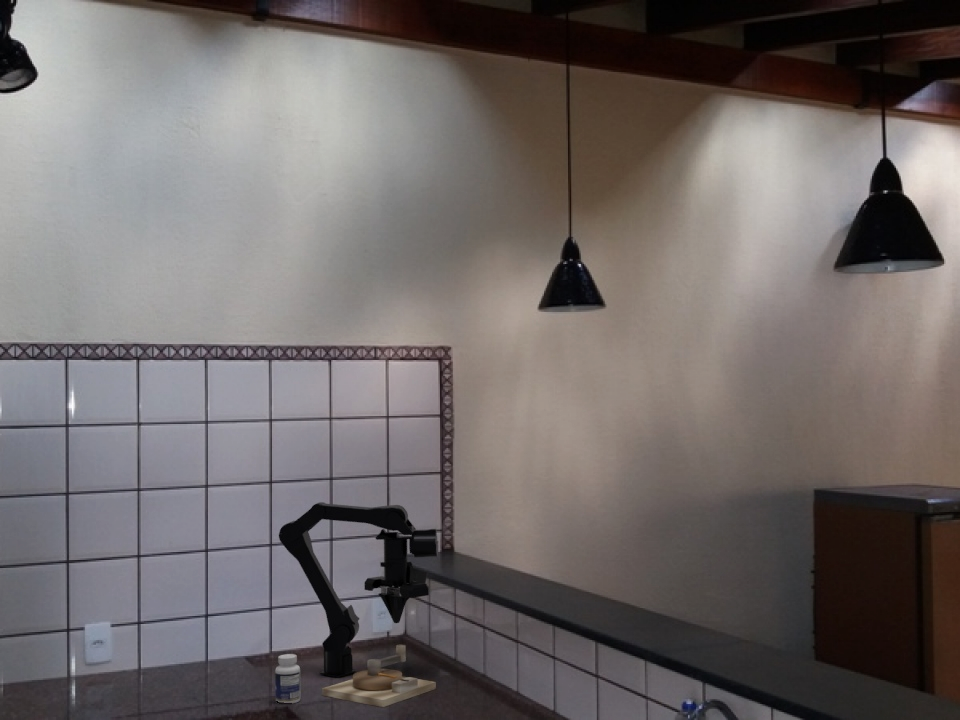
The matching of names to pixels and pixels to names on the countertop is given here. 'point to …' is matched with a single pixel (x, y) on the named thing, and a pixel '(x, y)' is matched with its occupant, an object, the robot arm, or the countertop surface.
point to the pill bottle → (287, 679)
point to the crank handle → (380, 672)
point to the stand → (380, 691)
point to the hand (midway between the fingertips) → (396, 622)
